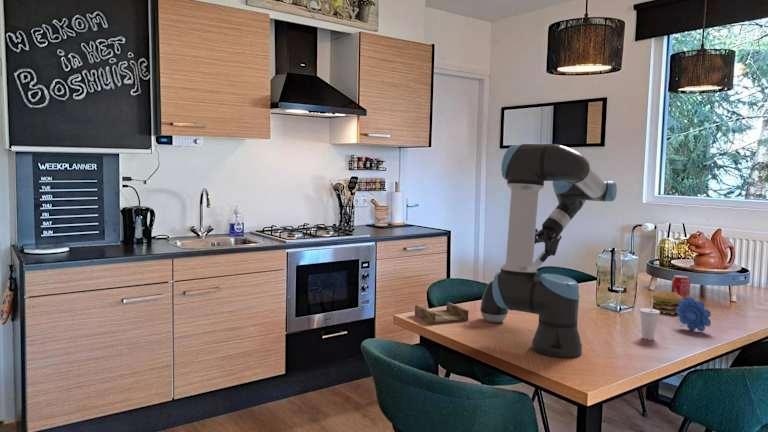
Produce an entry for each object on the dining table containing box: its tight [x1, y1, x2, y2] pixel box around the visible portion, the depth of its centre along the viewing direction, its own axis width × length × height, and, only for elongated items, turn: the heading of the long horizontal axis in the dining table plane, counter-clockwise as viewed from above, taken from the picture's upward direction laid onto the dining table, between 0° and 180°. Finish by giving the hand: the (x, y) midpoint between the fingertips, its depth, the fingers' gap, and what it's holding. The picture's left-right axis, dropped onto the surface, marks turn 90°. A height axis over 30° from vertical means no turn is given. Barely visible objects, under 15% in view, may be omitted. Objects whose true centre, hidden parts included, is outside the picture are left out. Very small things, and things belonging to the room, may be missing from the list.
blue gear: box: [676, 296, 712, 332], centre depth 203 cm, size 12×7×12 cm, turn 46°
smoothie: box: [639, 297, 661, 341], centre depth 193 cm, size 6×6×14 cm
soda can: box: [670, 274, 691, 301], centre depth 247 cm, size 7×7×12 cm
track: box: [414, 301, 469, 326], centre depth 213 cm, size 14×15×4 cm
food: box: [649, 291, 682, 314], centre depth 233 cm, size 14×14×8 cm
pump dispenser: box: [480, 280, 509, 324], centre depth 211 cm, size 10×10×15 cm
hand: (522, 264), depth 215 cm, fingers open, 13 cm apart
